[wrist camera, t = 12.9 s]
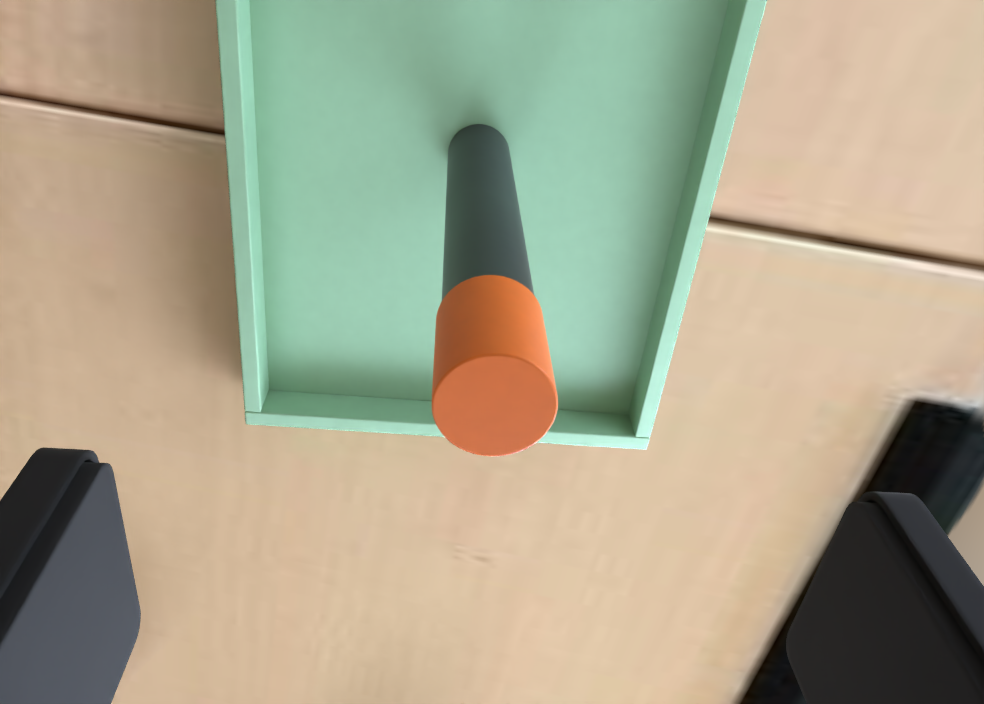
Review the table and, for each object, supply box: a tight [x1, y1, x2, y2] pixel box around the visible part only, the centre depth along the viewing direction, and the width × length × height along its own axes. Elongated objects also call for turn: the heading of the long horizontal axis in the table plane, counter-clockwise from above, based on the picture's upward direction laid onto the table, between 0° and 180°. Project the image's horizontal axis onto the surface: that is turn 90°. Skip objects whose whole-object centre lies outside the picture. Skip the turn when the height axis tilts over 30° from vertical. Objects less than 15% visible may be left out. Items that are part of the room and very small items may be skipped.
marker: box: [432, 124, 558, 456], centre depth 20 cm, size 2×2×14 cm
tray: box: [215, 0, 767, 449], centre depth 25 cm, size 21×15×2 cm
